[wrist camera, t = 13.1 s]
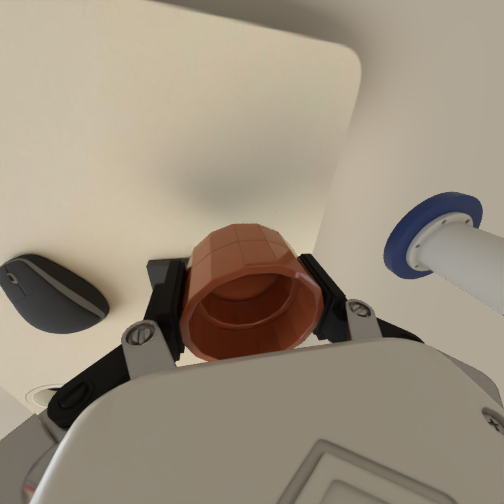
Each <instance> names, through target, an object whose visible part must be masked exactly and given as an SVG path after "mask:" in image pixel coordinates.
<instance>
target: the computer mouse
mask: <svg viewBox="0 0 504 504" xmlns="http://www.w3.org/2000/svg"><path fill="white" fill-rule="evenodd" d="M0 285H1V287H2V289H3V290H4V292H5V293H6V295H7V296H8V298H9V299H10V301H11V302H12V304H13V305H14V307H15V308H16V310H17V311H18V312H19V313H20V315H21V316H22V317H23V318H24V319H25V320H26V321H27V322H28V323H29V324H31V325H32V326H34V327H35V328H37V329H39V330H42V331H45V332H49V333H55V334H69V333H75V332H79V331H82V330H85V329H87V328H90V327H92V326H94V325H96V324H97V323H99V322H101V321H102V320H103V319H104V318H105V317H106V316H107V314H108V312H109V307H108V304H107V302H106V301H105V299H104V298H103V297H102V295H101V294H100V293H99V292H98V291H97V290H96V289H95V288H93V287H92V286H91V285H90V284H88V283H87V282H85V281H84V280H82V279H81V278H79V277H77V276H76V275H74V274H72V273H71V272H69V271H67V270H65V269H64V268H62V267H60V266H58V265H56V264H54V263H52V262H50V261H48V260H46V259H44V258H42V257H39V256H36V255H24V256H20V257H17V258H14V259H12V260H10V261H8V262H6V263H4V264H3V265H2V266H0Z"/></svg>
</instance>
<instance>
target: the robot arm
mask: <svg viewBox="0 0 504 504" xmlns="http://www.w3.org/2000/svg"><path fill="white" fill-rule="evenodd" d="M299 258H300V260H301V261H302V263H303V264H304V265H305V267H306V268H307V269H308V271H309V272H310V274H311V275H312V276H313V278H314V279H315V281H316V282H317V283H318V285H319V286H320V288H321V290H322V296H323V302H324V310H323V313H322V315H321V318H320V321H319V324H318V325H317V327H316V328H315V329H314V330H313V334H314V335H316V336H317V338H318V340H325V339H328V340H329V344H325V345H318V346H310V347H304V348H297V349H290V350H283V351H277V352H270V353H263V354H256V355H250V356H243V357H237V358H230V359H224V360H217V361H211V362H205V363H199V364H193V365H187V366H181V367H177V366H176V364H175V362H176V361H178V360H179V359H180V353H184V349H185V345H184V344H183V342H182V339H181V333H180V328H179V316H180V309H181V302H182V296H183V290H184V283H185V276H186V267H185V262H181V260H170V263H169V267H168V270H167V274H166V278H165V281H164V283H156V284H155V286H154V289H153V292H152V295H151V298H150V301H149V304H148V307H147V310H146V313H145V316H144V319H143V320H142V321H139V322H136V323H134V324H132V325H131V326H130V327H129V328H127V329H126V331H125V332H124V333H123V335H122V338H121V342H122V344H121V345H120V346H118V347H117V348H115V349H114V350H112V351H111V352H110V353H108V354H107V355H105V356H104V357H103V358H101V359H100V360H98V361H97V362H96V363H94V364H93V365H91V366H90V367H88V368H87V369H86V370H84V371H83V372H81V373H80V374H79V375H77V376H76V377H74V378H73V379H72V380H70V381H69V382H67V383H66V384H65V385H64V386H62V387H61V388H60V389H59V390H58V391H57V392H56V393H55V395H54V396H53V397H52V399H51V401H50V402H49V404H48V408H46V409H45V410H44V411H42V412H41V413H40V414H39V415H37V414H36V413H35V414H34V415H32V416H31V417H30V418H28V419H27V420H26V421H25V422H23V423H22V424H21V425H20V426H18V427H17V428H16V429H14V430H13V431H12V432H11V433H9V434H8V435H7V436H6V437H4V438H3V439H2V440H1V441H0V504H504V408H503V405H502V401H501V398H500V394H499V391H498V388H497V386H496V385H495V384H494V382H493V381H492V380H491V379H490V378H489V377H488V376H486V375H485V374H484V373H482V372H481V371H479V370H477V369H475V368H473V367H471V366H469V365H467V364H465V363H463V362H461V361H459V360H457V359H455V358H453V357H451V356H449V355H447V354H445V353H443V352H441V351H439V350H437V349H435V348H433V347H431V346H428V345H426V344H424V342H423V341H422V340H421V339H420V338H419V337H417V336H416V335H414V334H412V333H410V332H408V331H406V330H404V329H402V328H399V327H397V326H395V325H392V324H390V323H388V322H386V321H383V320H381V319H379V318H377V317H376V316H375V313H374V311H373V309H372V308H371V307H370V306H369V305H368V304H366V303H365V302H363V301H360V300H357V299H350V300H347V299H346V297H345V295H344V293H343V292H342V291H341V290H340V288H339V287H338V286H337V285H336V284H335V282H334V281H333V280H332V279H331V278H330V276H329V275H328V274H327V273H326V272H325V270H324V269H323V268H322V267H321V266H320V264H319V263H318V262H317V261H316V260H315V258H314V257H313V256H312V255H311V254H301V255H300V256H299ZM406 261H407V264H408V265H409V266H410V267H411V268H413V269H414V270H417V271H427V270H431V271H433V272H435V273H436V274H438V275H439V276H441V277H443V278H444V279H446V280H447V281H449V282H451V283H452V284H454V285H456V286H457V287H459V288H460V289H462V290H463V291H465V292H467V293H468V294H470V295H471V296H473V297H475V298H476V299H478V300H480V301H481V302H483V303H484V304H486V305H488V306H489V307H491V308H492V309H494V310H495V311H497V312H499V313H500V314H502V315H503V316H504V238H502V237H499V236H496V235H494V234H491V233H488V232H485V231H483V230H480V229H477V228H474V227H473V221H472V218H471V217H470V216H469V215H467V214H465V213H461V212H450V213H446V214H444V215H441V216H439V217H437V218H436V219H434V220H432V221H431V222H430V223H428V224H427V225H426V226H425V227H423V228H422V229H421V230H420V231H419V232H418V233H417V235H416V236H415V237H414V239H413V240H412V242H411V243H410V245H409V247H408V250H407V253H406Z"/></svg>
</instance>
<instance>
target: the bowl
mask: <svg viewBox="0 0 504 504" xmlns="http://www.w3.org/2000/svg"><path fill="white" fill-rule="evenodd" d="M323 310H324V302H323V296H322V290H321V288H320V286H319V285H318V283H317V282H316V281H315V279H314V278H313V276H312V275H311V274H310V272H309V271H308V269H307V268H306V267H305V265H304V264H303V263H302V261H301V260H300V258H299V257H298V256H297V254H296V253H295V251H294V250H293V249H292V247H291V246H290V244H289V243H288V242H287V241H286V240H285V239H284V238H283V237H282V236H281V235H280V234H279V232H277V231H275V230H272V229H270V228H267V227H265V226H262V225H260V224H231V225H229V226H226V227H224V228H221V229H219V230H216V231H214V232H211V233H210V234H209V235H208V236H207V237H206V238H205V239H203V240H202V241H201V242H200V243H199V244H198V245H197V246H196V247H195V248H194V250H193V252H192V255H191V257H190V260H189V262H188V265H187V269H186V276H185V283H184V290H183V296H182V302H181V309H180V316H179V328H180V333H181V339H182V342H183V344H184V345H185V346H186V347H187V348H188V349H189V350H190V351H191V352H192V353H193V354H194V355H195V356H196V357H198V358H200V359H203V360H205V361H208V362H211V361H217V360H224V359H230V358H237V357H243V356H250V355H256V354H263V353H270V352H277V351H283V350H290V349H293V348H295V347H296V346H298V345H299V344H301V343H302V342H303V341H305V339H306V338H307V337H308V336H309V335H310V334H311V333H312V332H313V330H314V329H315V328H316V327H317V325H318V324H319V321H320V318H321V315H322V313H323Z"/></svg>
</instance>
